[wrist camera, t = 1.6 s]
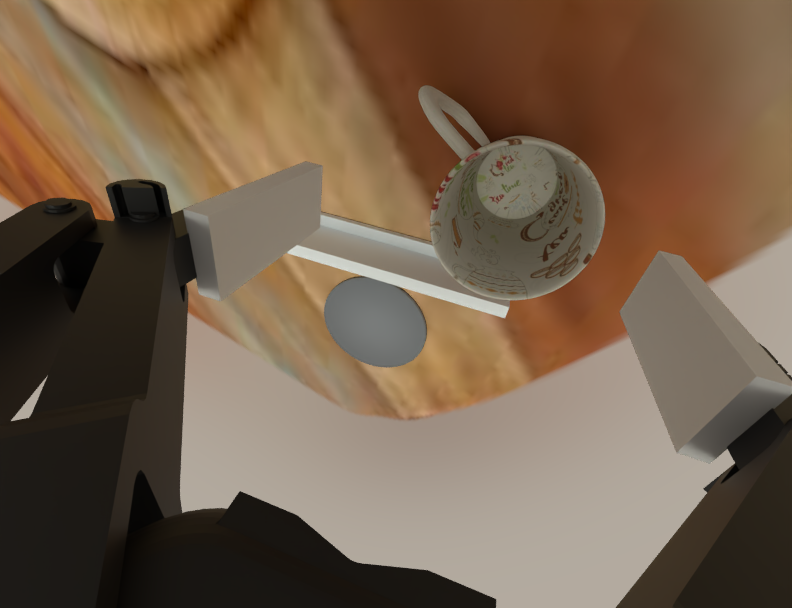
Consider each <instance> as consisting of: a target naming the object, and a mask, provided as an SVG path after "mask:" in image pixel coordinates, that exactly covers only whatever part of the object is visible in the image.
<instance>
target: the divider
mask: <svg viewBox="0 0 792 608" xmlns="http://www.w3.org/2000/svg"><path fill="white" fill-rule="evenodd" d="M287 253H288V254H292V255H295V256H299V257H302V258H305V259H309V260H312V261H315V262H319V263H322V264H325V265H329V266H332V267H335V268H339V269H342V270H345V271H349V272H352V273H355V274H359V275H362V276H365V277H369V278H372V279H375V280H379V281H382V282H385V283H389V284H392V285H395V286H399V287H402V288H405V289H409V290H412V291H415V292H419V293H422V294H426V295H429V296H432V297H436V298H439V299H442V300H446V301H449V302H452V303H456V304H459V305H462V306H466V307H469V308H472V309H476V310H479V311H482V312H486V313H489V314H492V315H496V316H499V317H502V318H505V316H506V314H507V312H508V309H509V305H510V300H500V299H494V298H490V297H486V296H483V295H480V294H477V293H475V292H473V291H471V290H469V289H467V288H466V287H464V286H463V285H461V284H460V283H458V282H457V281H456V280H455V279H454V278H453V277H452V276H451V275H450V274H449V273H448V272H447V271H446V270H445V269H444V267H443V266H442V264H441V262H440V261H439V259H438V257H437V255H436V253H435V250H434V247H433V244H432V242H430V241H426V240H422V239H419V238H415V237H411V236H408V235H404V234H400V233H397V232H393V231H390V230H386V229H382V228H379V227H375V226H371V225H368V224H364V223H360V222H357V221H353V220H350V219H346V218H342V217H339V216H335V215H331V214H328V213H324V212H321V219H320V228H319V229H318V230H316V231H315V232H314V233H312V234H311V235H310V236H308V237H307V238H306V239H304V240H303V241H302V242H300V243H299V244H298V245H296V246H295V247H293V248H292V249H291V250H289V251H288V252H287Z"/></svg>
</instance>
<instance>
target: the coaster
mask: <svg viewBox="0 0 792 608" xmlns="http://www.w3.org/2000/svg"><path fill="white" fill-rule="evenodd" d="M324 316H325V322H326V325H327V328H328V330H329V332H330V334H331V336H332V337H333V339H334V340H335V341H336V343H337V344H338V345H339V346H340V347H341V348H342V349H343V350H344V351H345V352H347V353H348V354H349V355H351V356H352V357H354V358H356V359H357V360H359V361H361V362H364V363H366V364H369V365H373V366H378V367H397V366H401V365H404V364H406V363H408V362H410V361H412V360H413V359H414V358H415V357H417V356H418V354H419V353H420V352H421V350H422V348H423V346H424V343H425V340H426V335H427V328H426V322H425V318H424V316H423V313H422V311H421V309H420V308H419V306H418V305H417V303H416V302H415V301H414V300H413V298H412V297H411V296H410V295H409V294H407V293H406V292H405V291H404V290H402V289H401V288H399V287H398V286H395V285H392V284H389V283H385V282H382V281H379V280H375V279H372V278H369V277H354V278H351V279H347V280H345V281H343V282H341V283H340V284H338V285H337V286H336V287H335V288H334V289H333V290H332V291H331V293H330V294H329V296H328V298H327V300H326V303H325V308H324Z"/></svg>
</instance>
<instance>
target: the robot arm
mask: <svg viewBox="0 0 792 608" xmlns="http://www.w3.org/2000/svg"><path fill="white" fill-rule="evenodd" d="M322 167H323V166H322V165H318V164H314V163H310V162H306V161H305V162H303V163H300V164H298V165H295V166H293V167H290V168H287V169H285V170H282V171H280V172H277V173H274V174H272V175H269V176H267V177H264V178H262V179H259V180H256V181H254V182H251V183H249V184H246V185H243V186H241V187H238V188H236V189H233V190H230V191H228V192H225V193H223V194H220V195H218V196H215V197H212V198H210V199H207V200H205V201H202V202H199V203H197V204H194V205H192V206H189V207H187V208H184V209H183V210H180V211H178V212H175V213H173V214H171V209H170V205H169V200H168V195H167V190H166V187H165V185H164V184H162V183H160V182H156V181H152V180H142V179H132V180H122V181H117V182H114V183H110V184H109V185H107V186H106V190H107V193H108V197H109V200H110V203H111V207H112V210H113V213H114V216H115V219H114V221H107V220H98V219H95V216H94V213H93V210H92V207H91V205H90V203H88V202H85V201H83V200H76V199H66V198H51V199H48V200H46V201H42V202H38V203H35V204H33V205H30V206H29V207H27V208H25V209H23V210H22V211H20V212H18V213H16V214H15V215H13V216H11V217H9V218H8V219H6V220H4V221H2V222H1V223H0V608H496V599H494V598H492V597H490V596H487V595H485V594H483V593H480V592H478V591H476V590H473V589H471V588H468V587H466V586H464V585H461V584H459V583H457V582H454V581H452V580H449V579H447V578H445V577H442V576H440V575H437V574H435V573H432V572H430V571H428V570H419V569H409V568H400V567H391V566H381V565H371V564H362V563H357V562H354V561H352V560H350V559H349V558H347V557H346V556H345V555H344V554H342V553H341V552H340V551H339V550H338V549H336V548H335V547H334V546H333V545H332V544H331V543H329V542H328V541H327V540H326V539H324V538H323V537H322V536H321V535H320V534H319V533H318V532H316V531H315V530H314V529H313V528H312V527H310V526H309V525H308V524H307V523H306V522H304V521H303V520H302V519H301V518H300V517H299V516H297V515H295V514H293V513H290V512H288V511H286V510H283V509H281V508H279V507H276V506H273V505H271V504H269V503H267V502H264V501H262V500H259V499H257V498H255V497H252V496H250V495H248V494H245V493H243V492H241V491H240V492H239V493H238V495H237V496H236V497H235V499H234V500H233V502H232V503H231V505H230V506H229V508H228V509H224V508H215V509H201V510H195V511H188V512H184V513H182V508H181V501H180V470H181V445H182V423H183V402H184V379H185V357H186V335H187V313H188V290H187V285H186V283H188V282H190V281H191V280H193V279H195V278H196V281H197V286H198V291H199V294H200V295H203V296H206V297H209V298H212V299H215V300H218V301H222V300H223V299H225V298H226V297H227V296H229V295H230V294H231V293H233V292H234V291H235V290H237V289H238V288H239V287H241V286H242V285H243V284H245V283H246V282H247V281H249V280H250V279H252V278H253V277H254V276H256V275H257V274H258V273H260V272H261V271H262V270H264V269H265V268H266V267H268V266H269V265H270V264H272V263H273V262H275V261H276V260H277V259H279V258H280V257H281V256H283V255H284V254H285V253H287V252H288V251H289V250H291V249H292V248H293V247H295V246H296V245H298V244H299V243H300V242H302V241H303V240H304V239H306V238H307V237H308V236H310V235H311V234H312V233H314V232H315V231H316V230H318V229H319V228H320V219H321V193H322ZM55 276H56V278H57V279H56V278H55ZM620 315H621V317H622V320H623V322H624V325H625V327H626V329H627V332H628V334H629V337H630V339H631V342H632V344H633V347H634V349H635V352H636V354H637V356H638V359H639V361H640V364H641V366H642V369H643V371H644V374H645V376H646V379H647V381H648V384H649V386H650V388H651V391H652V393H653V396H654V398H655V401H656V403H657V406H658V408H659V411H660V413H661V416H662V418H663V420H664V423H665V425H666V427H667V430H668V433H669V435H670V438H671V440H672V442H673V445H674V447H675V450H676V452H677V453H679V454H682V455H685V456H688V457H691V458H694V459H697V460H700V461H703V462H706V463H709V464H710V463H711V462H712V461H713V460H715V459H716V458H717V457H718V456H719V455H721V454H722V453H723V452H724V451H725V450H726V449H728V450H729V452H730V454H731V456H732V458H733V460H734V461H735V464H734V465H732V466H731V467H730V468H729V469H727V470H726V471H725V472H724V473H723V474H721V475H720V476H719V477H717V478H716V479H715V480H714V481H712V482H711V483H710V484H709V485H707V486H706V487H705V488H704V490H705V491H706V492H707V494H706V495H705V497H704V498H703V499H702V500H701V502H700V503H699V504H698V505H697V507H696V508H695V509H694V510H693V512H692V513H691V514H690V516H689V517H688V518H687V519H686V520H685V522H684V523H683V524H682V525H681V527H680V528H679V529H678V530H677V532H676V533H675V534H674V535H673V537H672V538H671V539H670V540H669V542H668V543H667V544H666V545H665V547H664V548H663V549H662V550H661V552H660V553H659V554H658V555H657V557H656V558H655V559H654V561H653V562H652V563H651V564H650V565H649V567H648V568H647V569H646V571H645V572H644V573H643V574H642V576H641V577H640V578H639V579H638V580H637V582H636V583H635V584H634V586H633V587H632V588H631V589H630V591H629V592H628V593H627V594H626V595H625V597H624V598H623V599H622V600H621V602H620V603H619V604H618V606H617V607H616V608H792V377H791V376H790V375H787V373H788V372H787V371H786V370H785V369H784V368H783V367H782V366H781V365H780V364H777V363H778V361H777V360H776V359H775V358H774V357H773V355H771V353H770V352H769V351H768V350H767V349H766V348H765V347H763V346H762V345H761V344H759V343H758V342H757V341H756V340H755V339H754V338H753V337H752V335H751V334H750V333H749V332H748V331H747V330H746V329H745V328H744V326H743V325H742V324H741V323H740V322H739V321H738V320H737V318H736V317H735V316H734V315H733V314H732V313H731V312H730V311H729V309H728V308H727V307H726V306H725V305H724V304H723V302H722V301H721V300H720V299H719V298H718V297H717V296H716V295H715V293H714V292H713V291H712V290H711V289H710V288H709V287H708V285H707V284H706V283H705V282H704V281H703V280H702V279H701V278H700V276H699V275H698V274H697V273H696V272H695V271H694V270H693V268H692V267H691V266H690V265H689V264H688V263H687V262H686V261H685V259H684V258H683V257H682V256H679V255H675V254H671V253H667V252H663V251H658V253H657V254H656V256H655V257H654V259H653V260H652V262H651V264H650V265H649V267H648V268H647V270H646V271H645V273H644V274H643V276H642V278H641V279H640V281H639V282H638V284H637V285H636V287H635V288H634V290H633V292H632V293H631V295H630V296H629V298H628V299H627V301H626V303H625V304H624V306H623V307H622V309H621V310H620ZM47 375H48V377H47ZM46 377H47V379H46V382H45V384H44V386H43V389H42V391H41V393H40V396H39V398H38V401H37V403H36V405H35V407H34V410H33V412H32V414H31V416H30V417H29V418H26V419H21V420H16V421H11V419H12V418H13V417H14V416H15V415H16V414H17V412H18V411H19V410H20V409H21V407H22V406H23V404H25V402H26V401H27V400H28V399H29V398H30V396H31V395H32V394H33V393H34V391H35V390H36V389H37V387H39V385H40V384H41V383H42V381H43V380H44V379H45V378H46Z"/></svg>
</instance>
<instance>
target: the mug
mask: <svg viewBox="0 0 792 608" xmlns="http://www.w3.org/2000/svg"><path fill="white" fill-rule="evenodd" d="M419 101H420V104H421V106H422V108H423V111H424V113H425V114H426V116H427V118H428V120H429V121H430V123H431V124H432V125H433V127H434V128H435V130H436V131H437V132H438V133H439V134H440V135H441V137H442V138H443V139H444V140H445V141H446V142H447V144H448V145H449V146H450V147H451V148H452V149H453V150H454V151H455V153H456V154H457V155H458V156H459V157H460V158H461V159H462V160H461V161H460V162H459V163H458V164H457V165H456V166H455V167H454V168H453V169H452V170H451V171H450V172H449V174H448V175H447V176H446V178H445V179H444V181H443V182H442V184H441V185H440V187H439V189H438V191H437V194H436V196H435V199H434V202H433V205H432V209H431V216H430V234H431V240H432V244H433V247H434V250H435V253H436V255H437V257H438V259H439V261H440V262H441V264H442V266H443V267H444V269H445V270H446V271H447V272H448V273H449V274H450V275H451V276H452V277H453V278H454V279H455V280H456V281H457V282H458V283H460V284H461V285H463V286H464V287H466V288H467V289H469V290H471V291H473V292H475V293H477V294H480V295H483V296H486V297H490V298H494V299H500V300H524V299H531V298H535V297H539V296H542V295H545V294H547V293H550V292H552V291H554V290H556V289H558V288H560V287H562V286H563V285H565V284H567V283H568V282H569V281H571V280H572V279H573V278H574V277H576V276H577V275H578V274H579V273H580V272H581V271H582V270H583V269H584V268H585V267H586V265H587V264H588V263H589V261H590V260H591V258H592V257H593V255H594V254H595V252H596V250H597V248H598V246H599V243H600V240H601V237H602V234H603V230H604V224H605V205H604V199H603V195H602V192H601V188H600V186H599V184H598V182H597V180H596V178H595V176H594V175H593V173H592V172H591V170H590V169H589V168H588V166H587V165H586V164H585V163H584V162H583V161H582V160H581V159H580V158H579V157H578V156H576V155H575V154H574V153H572V152H571V151H569V150H568V149H566V148H564V147H562V146H560V145H558V144H556V143H554V142H551V141H548V140H544V139H540V138H536V137H531V136H522V135H521V136H512V137H508V138H505V139H501V140H498V141H495V142H492V143H490V141H489V139H488V138H487V136H486V135H485V134H484V132H483V131H482V129H481V128H480V127H479V126H478V124H477V123H476V122H475V120H474V119H473V118H472V116H471V115H470V114H469V113H468V112H467V110H466V109H465V108H463V107H462V106H461V105H460V104H458V103H457V102H456V101H454V100H453V99H451V98H450V97H448V96H447V95H445V94H444V93H442V92H440V91H439V90H437V89H435V88H434V87H432V86H427V85H424V86H423V87H421V88H420V90H419ZM441 109H442V110H443V111H445V112H446V113H448V114H450V115H451V116H452V117H453V118H454V119H455V120H456V121H457V122H458V123H459V124H460V125H461V126H462V127H463V128H464V129H465V130H466V131H467V132H468V133H469V134H470V135H471V136H472V137H473V138H474V139H475V140H476V141H477V142H478V143H479V144H480V145H481V146H483V147H481V148H479V149H477V150H474V149H473V148H472V147H471V146H470V145H469V144H468V143H467V141H466V140H465V139H464V138H463V137H462V136H461V135H460V134H459V132H458V131H457V130H456V129H455V128H454V127H453V125H452V124H451V123H450V122H449V121H448V119H447V118H446V117H445V115H444V114H443V112H442V110H441Z"/></svg>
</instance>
